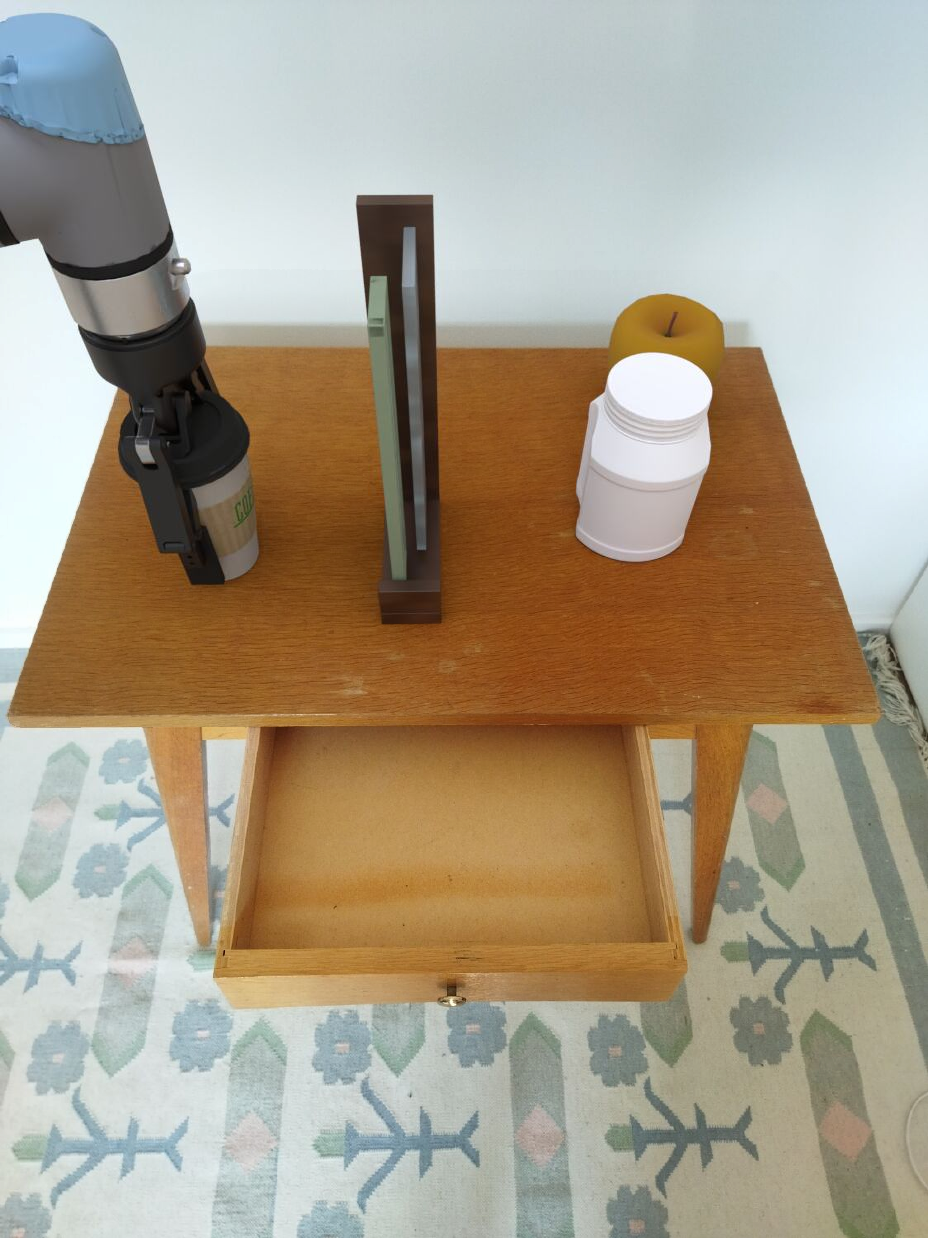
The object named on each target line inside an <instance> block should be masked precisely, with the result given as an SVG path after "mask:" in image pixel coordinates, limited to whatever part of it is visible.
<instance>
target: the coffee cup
mask: <svg viewBox="0 0 928 1238" xmlns="http://www.w3.org/2000/svg"><path fill="white" fill-rule="evenodd" d="M190 421H191V428H192V434H193V440H194V446H193V448H192V449H191V450H190V451H189V452H188V453H187V454H186V455H185V459H174V463H175V466H176V470H177V474H178V477H179V481H180V485H181V489H182V490H188V489H192V491H193V493H194V496H195V498H196V501H197V507H198V513H199V519H200V525H201V526H206V527H207V530H208V532H209V535H210V538H211V540H212V543H213V546H214V549H215V551H216V554H217V557H218V559H219V562H220V565H221V567H222V570H223V573H224V575H225V582H227V581H230V580H234V579H236V578H239V577H241V576H243V575H244V574H246V573H247V572H249V571H250V570H251V569H252V567H253V566H254V565H255V564H256V562H257V560H258V557H259V554H260V548H259V541H258V539H259V538H258V532H257V531H258V530H257V528H258V527H257V526H258V525H257V523H258V518H257V510H256V503H255V502H256V501H255V492H254V485H253V477H252V467H251V461H250V457H249V455H248V451H249V447H250V444H251V442H250V441H251V434H250V429H249V426H248V424H247V423H246V421H245V419H244V418H243V416H242V414H241V413H240V412H239V411H238V410H237V409H236V408H235V407H233V406H232V404H231V403H230V402H229V401H228V400H227V399H226V398H225V397H223V396H222V395H221V394H220V395H218V394H216V393H214V392H211V391H208V390H204V404H202V405H192V411H191V413H190ZM137 434H138V426H137V422H136V420H135V418H134V417H133V415H132V413H131V409H130V410H129V411H128V413H127V414H126V415H125V416H124V418H123V420H122V422H121V424H120V428H119V438H118V442H117V443H118V444H117V453H118V461H119V464H120V466H121V468H122V470H123V471H124V473H125V474H126V475H127V476H128V477H129V478H130V479H132V480H133V481H134V482H136V483H137V484H138V481H137V477H136V474H135V471H134V468H133V466H132V464H131V462H130V460H129V459H128V457H127V455H126V453H125V450H124V447H123V442H124V438H125V437H128V436H137ZM163 437H164V438H165V440H181V435H180V434H179V435H177V436H163ZM138 488H139V489H140V487H139V486H138Z"/></svg>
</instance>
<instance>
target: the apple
mask: <svg viewBox="0 0 928 1238" xmlns="http://www.w3.org/2000/svg"><path fill="white" fill-rule="evenodd" d="M724 331H725V330H724V324H723V322H722V320H721V319H720V318H719V316H718V315H717V313H715V312H714V311H713V310H711V309H709V308H708V307H707V306H705V305H703V304H702V303H701V302H699V301H696V300H694V299H692V298H689V297H686V296H683V295H677V294H672V293H658V294H657V293H656V294H650V295H647V296H644V297H640V298H638V299H636V300H635V301H634V302H632V303H631V304H630V305H628V306H627V307H626V308H624V309H623V310H622V311H621V312H620V313H619V315H618V316H617V318H616V320H615V322H614V325H613V328H612V331H611V334H610V338H609V342H608V343H609V344H608V349H607V370H608V371H607V372H608V374H609V373H610V371H611V369H612V368H613V367H614V366H615V365H616V364H617V363H618V362H620V361H621V360H623V359H625V358H627V357H629V356H632V355H636V354H641V353H664V354H670V355H674V356H677V357H680V358H683V359H685V360H687V361H689V362H691V363H693V364H694V365H696V366H697V367H698V368H700V369H701V370H702V371H703V372H704V373H705V374H706V376H707V377H708V379H709V381H710V383H711V386H712V389H713V388H714V385H715V383H716V381H717V379H718V376H719V373H720V371H721V368H722V366H723V362H724V358H725V353H726V350H725V349H726V348H725V347H726V346H725V332H724Z"/></svg>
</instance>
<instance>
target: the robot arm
mask: <svg viewBox="0 0 928 1238" xmlns="http://www.w3.org/2000/svg"><path fill="white" fill-rule="evenodd" d="M32 240H38V241H39V243H40V244H41V246H42V249H43V252H44V254H45V257H46V258H47V261H48V264H49V266H50V268H51V270H52V273H53V276H54V277H55V280H56V283H57V284H58V287H59V290H60V293H61V295H62V297H63V299H64V302H65V304H66V307H67V309H68V311H69V314H70V316H71V317H72V319H73V322H74V323H76V324H77V330H78V333H79V335H80V338H81V339H82V342H83V344H84V346H85V349H86V351H87V353H88V355H89V358H90V360H91V363H92V365H93V367H94V369H95V371H96V373H97V374H98V375H99V376H100V378H102V379H103V380H104V381H106V382H107V383H109V384H111V385H113V386H114V387H116V388H118V389H119V390H121V391H123V392H125V394H127V395H128V403H129V407H130V408H129V409H130V410H131V413H132V415H133V417H134V418H135V420H136V422H137V426H138V434H137V436H128V437H125V438H124V442H123V447H124V450H125V453H126V455H127V457H128V459H129V460H130V462H131V464H132V466H133V468H134V471H135V474H136V477H137V481H138V483H137V484H138V488H139V487H140V488H139V490H140V494H141V497H142V500H143V503H144V507H145V510H146V513H147V516H148V520H149V524H150V526H151V530H152V534H153V537H154V540H155V543H156V547H157V549H158V553H160V554H162V555H163V554H172V555H173V554H177V555H178V557H179V560H180V562H181V564H182V567H183V569H184V572H185V573H186V576H187V578H188V581H189V583H190V585H191V586H217V585H219V586H220V585H225V582H226V581H225V575H224V573H223V570H222V567H221V565H220V562H219V559H218V557H217V554H216V551H215V549H214V546H213V543H212V540H211V538H210V535H209V532H208V530H207V527H206V526H201V525H200V519H199V513H198V507H197V501H196V498H195V496H194V493H193V491H192V489H188V490H182V489H181V485H180V481H179V477H178V474H177V470H176V466H175V463H174V459H185V455H186V454H187V453H188V452H189V451H190V450H191V449H192V448H193V446H194V440H193V434H192V428H191V421H190V413H191V411H192V405H202V404H204V390H208V391H211V392H214V393H216V394H218V395H220V396H221V394H220V392H219V389H218V387H217V386H218V385H217V383H216V381H215V379H214V376H213V374H212V371H211V370H210V368H209V365H208V363H207V360H206V358H205V357H206V352H207V342H206V338H205V335H204V334H205V333H204V330H203V328H202V323H201V321H200V317H199V314H198V310H197V307H196V303H195V302H194V299H193V298H192V297H191V290H190V286H189V283H188V279H187V275H189V274H190V273H191V272H192V266H191V265H192V264H191V262H190V260H189V259H188V258H187V257H181V256H180V253H179V249H178V246H177V242H176V239H175V235H174V231H173V228H172V224H171V219H170V217H169V213H168V209H167V205H166V203H165V198H164V195H163V191H162V187H161V184H160V180H159V175H158V173H157V170H156V166H155V163H154V159H153V155H152V152H151V149H150V144H149V141H148V136H147V134H146V130H145V124H144V123H143V120H142V118H141V115H140V112H139V109H138V106H137V104H136V100H135V97H134V95H133V92H132V88H131V86H130V83H129V80H128V77H127V74H126V71H125V68H124V65H123V62H122V60H121V57H120V53H119V51H118V48H117V46H116V45H115V43H114V42H113V40H111V38H110V37H109V36H108V35H107V33H106V32H104V30H102V29H101V28H99V27H98V26H97V25H95V24H94V23H92V22H90V21H88V20H86V19H84V18H82V17H78V16H75V15H71V14H64V13H55V12H36V13H33V12H32V13H24V14H23V13H22V14H17V15H12V16H9V17H7V18H6V19H5V20H3V21H0V249H1V248H6V247H10V246H11V247H12V246H16V245H20V244H21V243H22V242H28V241H32ZM179 434H180V435H181V440H165V438H164V437H163V436H177V435H179Z"/></svg>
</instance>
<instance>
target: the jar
mask: <svg viewBox="0 0 928 1238" xmlns="http://www.w3.org/2000/svg"><path fill="white" fill-rule="evenodd" d="M712 398H713V388H712V386H711V383H710V381H709V379H708V377H707V376H706V374H705V373H704V372H703V371H702V370H701V369H700V368H698V367H697V366H696V365H694V364H693V363H691V362H689V361H687V360H685V359H683V358H680V357H677V356H674V355H670V354H664V353H641V354H636V355H632V356H629V357H627V358H625V359H623V360H621V361H620V362H618V363H617V364H616V365H615V366H614V367H613V368H612V369H611V371H610V373H608V376H607V379H606V384H605V389H604V392H603V393H602V394H600V395H599V396H597V397H596V398H595V399H593V400H592V401H591V402H590V403H589V409H588V419H587V425H586V431H585V437H584V443H583V448H582V456H581V460H580V466H579V472H578V476H577V478H576V487H575V494H576V496H577V498H578V502H579V511H578V517H577V520H576V525H575V537H576V538H577V539H578V540H579V541H580V543H582V544H583V545H584V546H586V547H587V548H588V549H590V550H591V551H593V552H595V553H597V554H598V555H601V556H603V557H606V558H609V559H612V560H615V561H622V562H629V563H641V562H649V561H654V560H657V559H660V558H663V557H665V556H667V555H669V554H671V553H672V552H674V551H676V549H677V548H679V547H680V546H681V545H682V543H683V540H684V537H685V532H686V529H687V525H688V522H689V520H690V516H691V514H692V511H693V508H694V506H695V502H696V499H697V497H698V493H699V490H700V488H701V486H702V482H703V479H704V476H705V474H706V473H707V471H708V467H709V464H710V459H711V450H712V443H711V437H710V436H711V435H710V427H709V418H708V411H709V409H710V406H711V401H712Z"/></svg>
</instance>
